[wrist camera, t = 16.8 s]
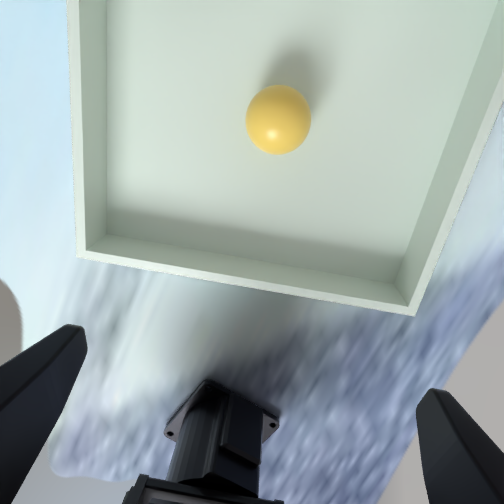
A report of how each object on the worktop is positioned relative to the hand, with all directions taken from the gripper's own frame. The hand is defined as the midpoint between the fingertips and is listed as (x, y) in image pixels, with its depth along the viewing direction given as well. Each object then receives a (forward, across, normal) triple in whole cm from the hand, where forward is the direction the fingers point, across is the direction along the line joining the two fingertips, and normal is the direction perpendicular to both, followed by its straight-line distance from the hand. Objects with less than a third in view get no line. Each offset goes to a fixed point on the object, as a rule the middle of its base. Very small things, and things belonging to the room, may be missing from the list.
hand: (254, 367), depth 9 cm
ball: (+11, 0, -4) cm, 11 cm away
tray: (+13, +1, -3) cm, 13 cm away
